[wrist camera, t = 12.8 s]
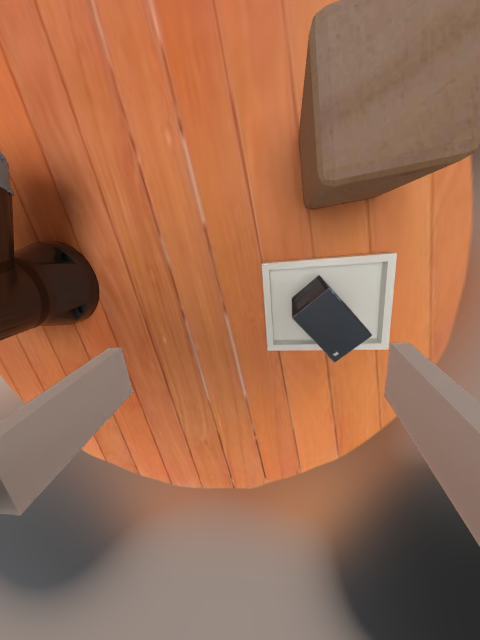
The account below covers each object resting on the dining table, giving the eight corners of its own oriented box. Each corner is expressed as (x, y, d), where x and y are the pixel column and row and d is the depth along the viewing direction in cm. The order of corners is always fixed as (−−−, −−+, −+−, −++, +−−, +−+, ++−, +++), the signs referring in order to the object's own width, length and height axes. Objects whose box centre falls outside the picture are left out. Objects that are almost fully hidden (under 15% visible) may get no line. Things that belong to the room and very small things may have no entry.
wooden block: (380, 196, 34) (489, 152, 16) (304, 211, 36) (320, 187, 18) (380, 109, 31) (514, -74, 13) (297, 130, 33) (308, 1, 15)
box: (352, 310, 39) (374, 336, 29) (322, 333, 41) (333, 364, 31) (319, 273, 38) (329, 287, 28) (290, 298, 40) (290, 318, 30)
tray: (268, 343, 44) (267, 350, 41) (263, 261, 40) (261, 263, 37) (381, 341, 40) (388, 349, 38) (389, 251, 36) (396, 253, 33)
